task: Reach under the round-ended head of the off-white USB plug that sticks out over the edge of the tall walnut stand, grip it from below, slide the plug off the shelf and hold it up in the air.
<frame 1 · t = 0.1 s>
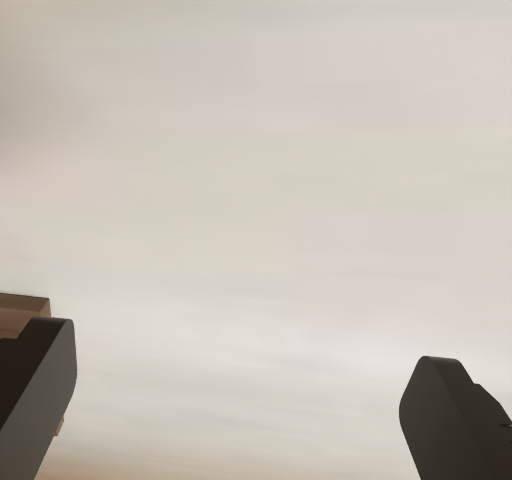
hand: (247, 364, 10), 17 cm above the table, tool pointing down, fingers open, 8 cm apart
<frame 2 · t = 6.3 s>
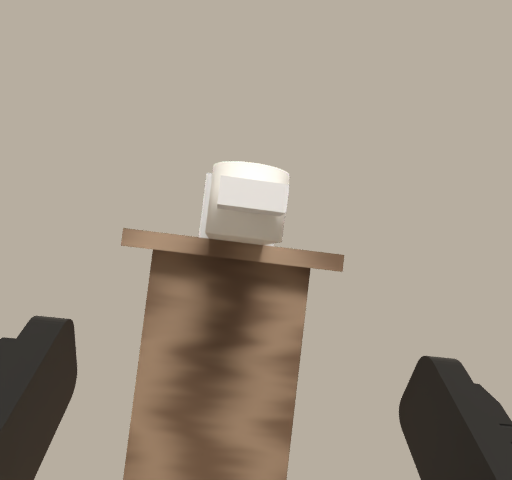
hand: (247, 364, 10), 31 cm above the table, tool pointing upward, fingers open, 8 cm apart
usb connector: (236, 241, 24), point 34 cm above the table, touching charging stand
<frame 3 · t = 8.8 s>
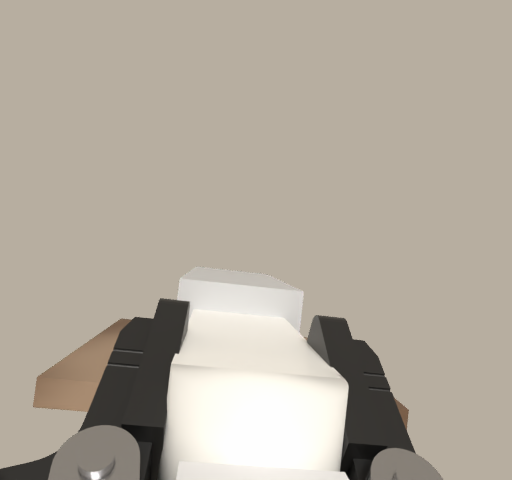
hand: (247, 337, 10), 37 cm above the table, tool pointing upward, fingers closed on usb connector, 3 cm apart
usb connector: (230, 393, 14), point 34 cm above the table, touching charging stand, gripper
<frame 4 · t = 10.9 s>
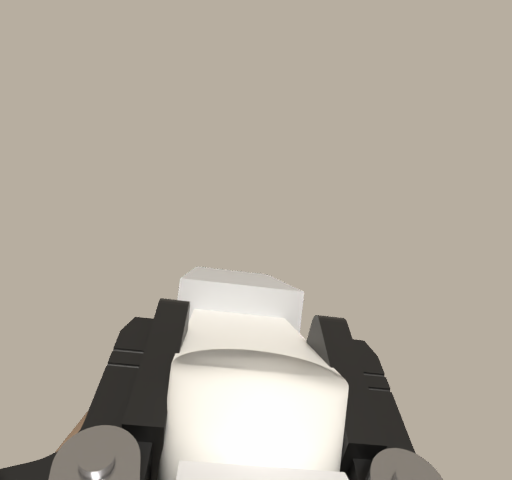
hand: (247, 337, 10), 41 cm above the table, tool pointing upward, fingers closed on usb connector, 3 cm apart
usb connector: (230, 393, 14), point 38 cm above the table, touching gripper
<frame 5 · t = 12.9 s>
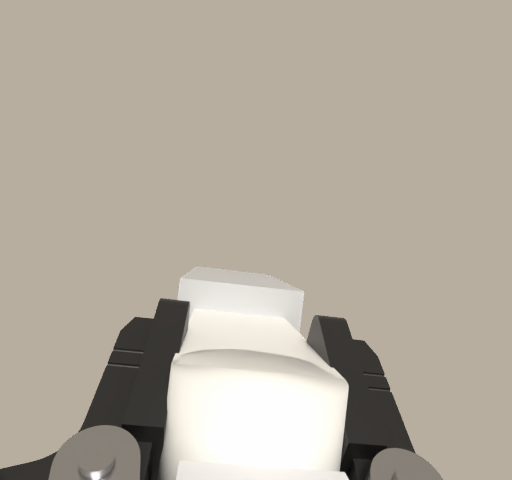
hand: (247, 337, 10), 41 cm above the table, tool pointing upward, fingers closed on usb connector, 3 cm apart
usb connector: (230, 393, 14), point 38 cm above the table, touching gripper
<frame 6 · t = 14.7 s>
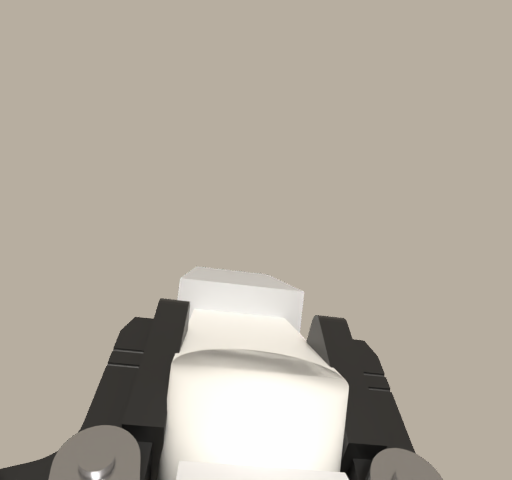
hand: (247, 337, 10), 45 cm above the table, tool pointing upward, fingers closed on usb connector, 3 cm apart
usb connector: (230, 393, 14), point 43 cm above the table, touching gripper
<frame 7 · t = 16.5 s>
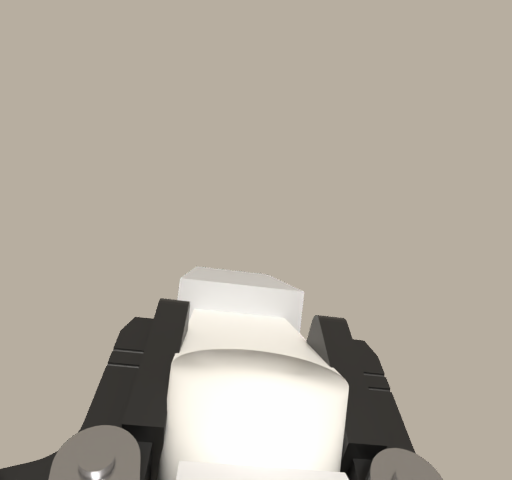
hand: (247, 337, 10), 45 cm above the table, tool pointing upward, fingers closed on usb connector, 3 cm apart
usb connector: (230, 393, 14), point 43 cm above the table, touching gripper
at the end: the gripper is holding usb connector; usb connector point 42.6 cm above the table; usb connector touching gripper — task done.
